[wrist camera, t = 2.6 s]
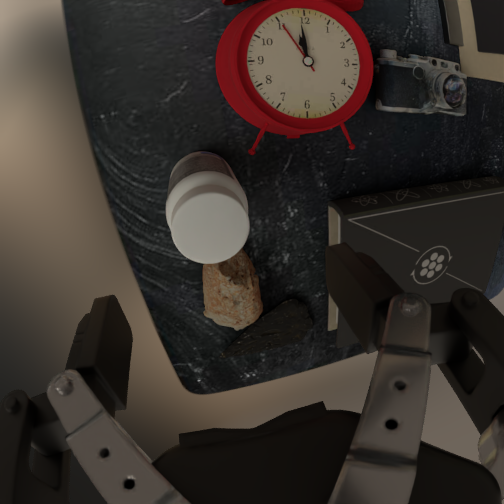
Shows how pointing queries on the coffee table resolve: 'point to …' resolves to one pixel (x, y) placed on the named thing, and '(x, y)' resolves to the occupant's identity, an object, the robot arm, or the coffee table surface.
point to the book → (422, 238)
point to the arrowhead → (273, 330)
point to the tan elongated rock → (232, 292)
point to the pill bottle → (206, 208)
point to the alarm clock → (295, 65)
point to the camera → (419, 85)
